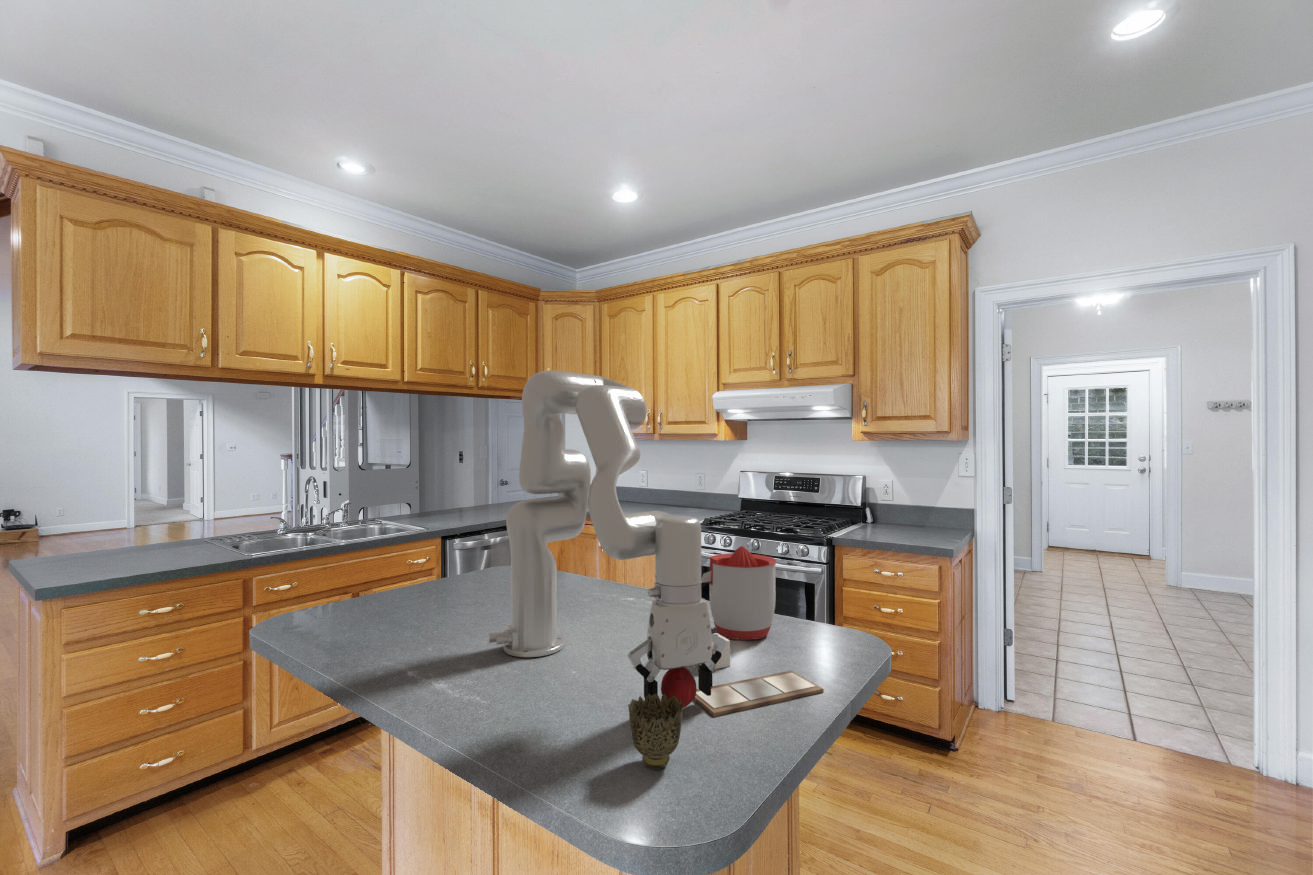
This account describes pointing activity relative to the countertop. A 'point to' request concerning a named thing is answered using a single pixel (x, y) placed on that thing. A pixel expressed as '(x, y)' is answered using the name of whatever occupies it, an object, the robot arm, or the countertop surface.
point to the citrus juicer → (742, 593)
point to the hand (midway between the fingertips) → (678, 697)
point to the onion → (679, 685)
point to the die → (723, 654)
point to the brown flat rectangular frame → (755, 692)
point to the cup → (655, 728)
